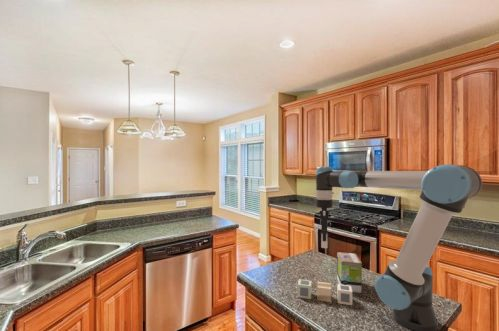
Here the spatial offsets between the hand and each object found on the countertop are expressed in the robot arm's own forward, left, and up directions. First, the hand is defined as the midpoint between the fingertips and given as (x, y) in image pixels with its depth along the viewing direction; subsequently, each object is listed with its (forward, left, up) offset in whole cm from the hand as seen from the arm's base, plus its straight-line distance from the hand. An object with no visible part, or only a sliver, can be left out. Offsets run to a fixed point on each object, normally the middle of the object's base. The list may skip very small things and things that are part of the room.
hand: (324, 243), depth 120 cm
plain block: (-2, +1, -25) cm, 25 cm away
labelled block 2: (-6, -7, -25) cm, 26 cm away
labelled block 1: (+3, +9, -25) cm, 26 cm away
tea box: (+7, -18, -25) cm, 32 cm away
